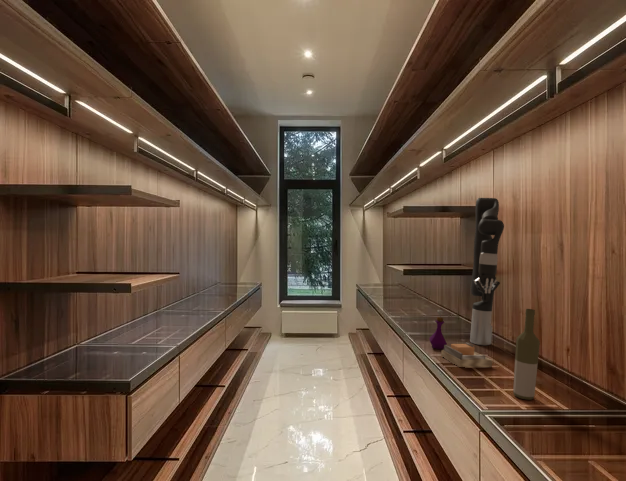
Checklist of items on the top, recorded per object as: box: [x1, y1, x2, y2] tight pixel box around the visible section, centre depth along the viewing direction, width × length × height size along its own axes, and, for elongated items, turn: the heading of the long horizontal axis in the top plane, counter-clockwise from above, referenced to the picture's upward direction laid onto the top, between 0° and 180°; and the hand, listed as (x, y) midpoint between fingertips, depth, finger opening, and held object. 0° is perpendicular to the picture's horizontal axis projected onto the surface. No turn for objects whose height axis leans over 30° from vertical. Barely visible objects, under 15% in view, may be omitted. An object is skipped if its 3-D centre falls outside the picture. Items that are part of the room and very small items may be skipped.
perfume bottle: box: [428, 309, 448, 350], centre depth 190 cm, size 8×8×18 cm
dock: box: [440, 345, 493, 369], centre depth 171 cm, size 15×14×6 cm
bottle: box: [512, 308, 541, 401], centre depth 135 cm, size 7×7×30 cm
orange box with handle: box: [450, 341, 475, 355], centre depth 170 cm, size 8×5×5 cm, turn 104°
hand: (485, 301), depth 181 cm, fingers closed
